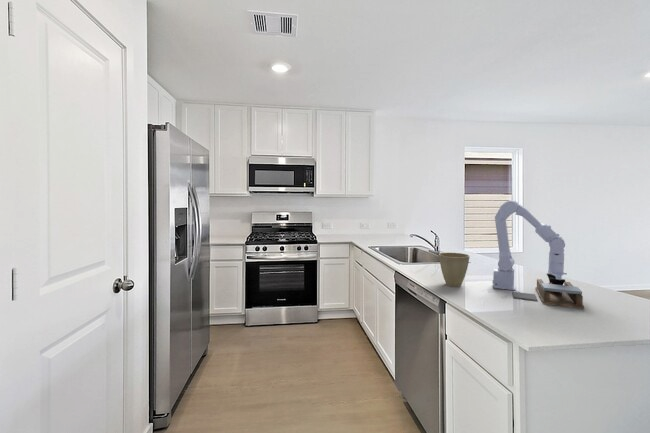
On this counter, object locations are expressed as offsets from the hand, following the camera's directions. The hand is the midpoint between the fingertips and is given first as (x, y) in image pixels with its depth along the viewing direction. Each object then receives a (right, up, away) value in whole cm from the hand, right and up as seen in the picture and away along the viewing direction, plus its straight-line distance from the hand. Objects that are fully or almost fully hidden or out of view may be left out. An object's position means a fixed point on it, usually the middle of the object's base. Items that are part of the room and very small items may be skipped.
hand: (555, 291), depth 146 cm
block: (0, -2, 0) cm, 2 cm away
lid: (-6, +3, -11) cm, 13 cm away
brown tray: (-3, -2, -5) cm, 6 cm away
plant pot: (-40, -1, +18) cm, 44 cm away
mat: (-16, -2, -3) cm, 16 cm away
